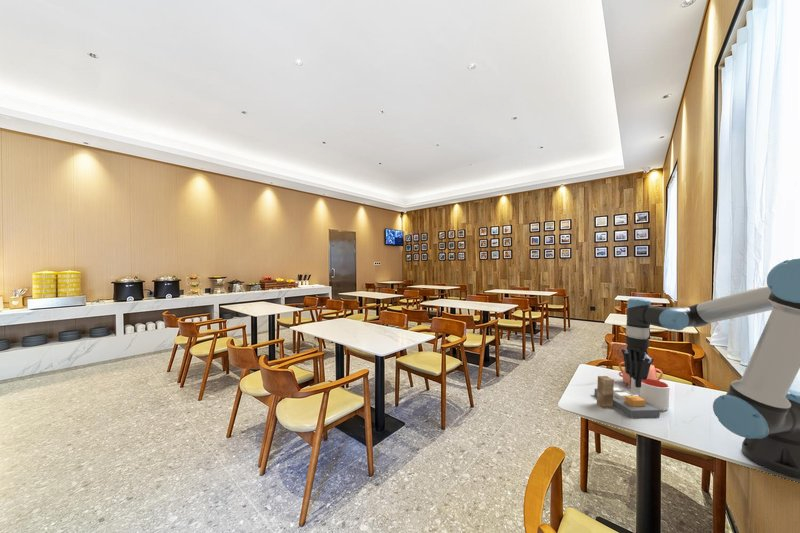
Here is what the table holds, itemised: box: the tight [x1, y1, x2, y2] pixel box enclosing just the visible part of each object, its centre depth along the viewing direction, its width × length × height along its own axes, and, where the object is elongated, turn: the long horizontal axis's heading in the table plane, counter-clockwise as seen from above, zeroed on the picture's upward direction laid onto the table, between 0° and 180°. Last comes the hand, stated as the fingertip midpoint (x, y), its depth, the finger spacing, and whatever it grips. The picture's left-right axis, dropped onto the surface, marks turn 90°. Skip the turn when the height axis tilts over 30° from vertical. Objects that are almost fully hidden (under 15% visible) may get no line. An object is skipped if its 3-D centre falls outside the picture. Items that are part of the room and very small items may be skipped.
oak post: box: [596, 375, 615, 409], centre depth 128 cm, size 4×4×12 cm
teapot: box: [618, 361, 664, 388], centre depth 149 cm, size 15×17×13 cm
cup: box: [637, 379, 670, 412], centre depth 129 cm, size 10×10×10 cm
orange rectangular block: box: [625, 395, 645, 407], centre depth 124 cm, size 4×5×3 cm
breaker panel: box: [594, 386, 661, 419], centre depth 129 cm, size 20×12×4 cm, turn 5°
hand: (635, 393), depth 124 cm, fingers closed
